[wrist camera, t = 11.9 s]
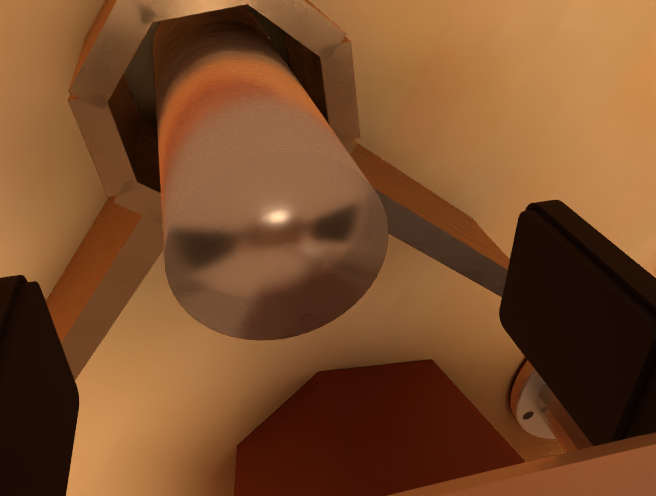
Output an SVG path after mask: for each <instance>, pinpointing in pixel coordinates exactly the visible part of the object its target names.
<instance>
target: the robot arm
mask: <svg viewBox="0 0 656 496" xmlns="http://www.w3.org/2000/svg"><path fill="white" fill-rule="evenodd" d="M499 317H500V321H501V324H502V326H503V328H504V329H505V331H506V332H507V333H508V335H509V336H510V337H511V338H512V340H513V341H514V342H515V344H516V345H517V346H518V348H519V349H520V350H521V352H522V353H523V354H524V356H525V357H526V358H527V361H526V363H525V364H524V366H523V367H522V369H521V371H520V372H519V374H518V376H517V378H516V380H515V383H514V385H513V388H512V393H511V397H510V402H511V410H512V412H513V415H514V417H515V418H516V420H517V421H518V423H519V424H520V425H521V427H522V428H523V429H524V430H525V431H526V432H528V433H529V434H530V435H533V436H536V437H539V438H545V439H557V440H558V442H559V443H560V445H561V446H562V447H563V449H564V450H565V452H566V453H564V454H559V455H555V456H551V457H546V458H542V459H538V460H534V461H529V462H525V463H521V464H517V465H512V466H508V467H504V468H500V469H496V470H491V471H487V472H483V473H479V474H475V475H471V476H466V477H462V478H458V479H454V480H450V481H446V482H441V483H437V484H433V485H429V486H425V487H421V488H416V489H412V490H408V491H404V492H400V493H396V494H392V495H387V496H656V278H655V277H654V276H652V275H651V274H650V273H649V272H647V271H646V270H645V269H644V268H643V267H641V266H640V265H639V264H638V263H636V262H635V261H634V260H633V259H631V258H630V257H629V256H628V255H627V254H625V253H624V252H623V251H622V250H620V249H619V248H618V247H617V246H616V245H614V244H613V243H612V242H611V241H609V240H608V239H607V238H606V237H604V236H603V235H602V234H601V233H600V232H598V231H597V230H596V229H595V228H593V227H592V226H591V225H590V224H589V223H587V222H586V221H585V220H584V219H582V218H581V217H580V216H579V215H577V214H576V213H575V212H574V211H573V210H571V209H570V208H569V207H568V206H566V205H565V204H564V203H563V202H561V201H559V200H550V201H543V202H536V203H531V204H529V205H528V206H527V208H526V210H525V211H523V212H521V214H520V215H519V218H518V223H517V228H516V233H515V237H514V242H513V247H512V252H511V257H510V262H509V266H508V271H507V276H506V281H505V286H504V291H503V295H502V300H501V305H500V310H499ZM78 410H79V394H78V389H77V385H76V383H75V380H74V377H73V375H72V372H71V369H70V366H69V364H68V361H67V358H66V356H65V353H64V350H63V347H62V345H61V342H60V339H59V337H58V334H57V331H56V328H55V326H54V323H53V320H52V318H51V315H50V312H49V309H48V307H47V304H46V301H45V299H44V296H43V293H42V290H41V288H40V286H39V284H38V283H37V282H36V281H33V282H27V280H26V278H25V277H24V276H22V275H17V276H10V277H3V278H0V496H66V491H67V484H68V477H69V471H70V464H71V457H72V450H73V444H74V437H75V430H76V424H77V417H78Z"/></svg>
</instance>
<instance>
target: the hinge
mask: <svg viewBox="0 0 656 496" xmlns="http://www.w3.org/2000/svg"><path fill="white" fill-rule="evenodd" d="M245 4H248V5H249V6H251V7H252V8H254V9H255V10H256V11H258V12H259V13H260V14H262V15H263V16H265V17H266V18H267V19H269V20H270V21H271V22H273V23H274V24H276V25H277V26H278V27H280V28H281V29H282V30H284V31H285V37H286V43H287V49H288V55H289V61H290V68H291V71H292V72H293V74H294V75H295V77H296V78H297V79H298V81H299V82H300V84H301V85H302V87H303V88H304V90H305V91H306V92H307V94H308V95H309V97H310V98H311V100H312V101H313V103H314V104H315V105H316V107H317V108H318V110H319V111H320V113H321V114H322V115H323V117H324V118H325V120H326V121H327V123H328V124H329V126H330V127H331V128H332V130H333V131H334V133H335V134H336V136H337V137H338V138H339V140H340V141H341V143H342V144H343V146H344V147H345V149H346V150H347V151H348V153H349V154H350V156H351V157H352V159H353V160H354V161H355V163H356V164H357V166H358V167H359V169H360V170H361V172H362V173H363V174H364V176H365V177H366V179H367V180H368V182H369V183H370V184H371V186H372V187H373V189H374V190H375V192H376V193H377V195H378V196H379V198H380V200H381V202H382V205H383V207H384V210H385V214H386V217H387V224H388V233H389V234H391V235H393V236H394V237H396V238H398V239H400V240H401V241H403V242H405V243H407V244H409V245H410V246H412V247H414V248H416V249H417V250H419V251H421V252H423V253H424V254H426V255H428V256H430V257H432V258H433V259H435V260H437V261H439V262H440V263H442V264H444V265H446V266H448V267H449V268H451V269H453V270H455V271H456V272H458V273H460V274H462V275H463V276H465V277H467V278H469V279H471V280H472V281H474V282H476V283H478V284H479V285H481V286H483V287H485V288H487V289H488V290H490V291H492V292H494V293H495V294H497V295H499V296H501V297H502V295H503V291H504V286H505V281H506V276H507V271H508V266H509V262H510V259H509V258H508V257H507V256H506V255H505V254H504V253H503V252H502V251H501V250H500V248H499V247H498V246H497V245H496V244H495V243H494V242H493V241H492V240H491V239H490V238H489V236H488V235H487V234H486V233H485V232H484V231H483V230H482V229H481V228H480V227H479V225H478V224H477V223H476V222H475V221H474V220H473V219H472V218H471V217H469V216H468V215H466V214H465V213H463V212H462V211H460V210H459V209H457V208H455V207H454V206H452V205H451V204H449V203H448V202H446V201H445V200H443V199H442V198H440V197H439V196H437V195H436V194H434V193H433V192H431V191H429V190H428V189H426V188H425V187H423V186H422V185H420V184H419V183H417V182H416V181H414V180H413V179H411V178H410V177H408V176H407V175H405V174H404V173H402V172H400V171H399V170H397V169H396V168H394V167H393V166H391V165H390V164H388V163H387V162H385V161H384V160H382V159H381V158H379V157H378V156H376V155H374V154H373V153H371V152H370V151H368V150H367V149H365V148H364V147H362V146H361V145H359V144H358V143H356V141H355V140H354V139H356V138H360V132H359V122H358V111H357V101H356V91H355V80H354V70H353V60H352V49H351V41H350V40H349V39H347V38H346V37H345V36H346V33H345V32H344V31H343V30H342V29H340V28H339V27H338V26H337V25H336V24H335V23H334V22H332V21H331V20H330V19H329V18H328V17H327V16H325V15H324V14H323V13H322V12H321V11H320V10H319V9H317V8H316V7H315V6H314V5H313V4H312V3H310V2H309V1H308V0H105V1H104V3H103V5H102V7H101V9H100V11H99V13H98V15H97V17H96V18H95V20H94V22H93V24H92V26H91V28H90V30H89V32H88V34H87V35H86V37H85V40H84V44H83V47H82V50H81V53H80V56H79V59H78V63H77V66H76V69H75V72H74V75H73V78H72V82H71V85H70V88H69V91H68V92H69V93H70V96H69V99H68V102H69V104H70V107H71V109H72V112H73V114H74V116H75V119H76V121H77V124H78V126H79V128H80V131H81V133H82V136H83V138H84V140H85V143H86V145H87V148H88V150H89V153H90V155H91V157H92V160H93V162H94V165H95V167H96V169H97V172H98V174H99V177H100V179H101V181H102V184H103V186H104V189H105V191H106V193H107V196H108V197H109V199H108V200H107V202H106V204H105V205H104V207H103V209H102V210H101V212H100V214H99V215H98V217H97V219H96V220H95V222H94V224H93V225H92V227H91V228H90V230H89V232H88V233H87V235H86V237H85V238H84V240H83V242H82V243H81V245H80V247H79V248H78V250H77V252H76V253H75V255H74V256H73V258H72V260H71V261H70V263H69V265H68V266H67V268H66V270H65V271H64V273H63V275H62V276H61V278H60V280H59V281H58V283H57V284H56V286H55V288H54V289H53V291H52V293H51V294H50V296H49V298H48V299H47V301H46V304H47V307H48V309H49V312H50V315H51V318H52V320H53V323H54V326H55V328H56V331H57V334H58V337H59V339H60V342H61V345H62V347H63V350H64V353H65V356H66V358H67V361H68V364H69V366H70V369H71V372H72V375H73V377H74V380H76V378H77V377H78V375H79V374H80V372H81V371H82V369H83V368H84V366H85V365H86V363H87V362H88V360H89V359H90V357H91V356H92V354H93V353H94V351H95V350H96V348H97V347H98V345H99V344H100V342H101V341H102V340H103V338H104V337H105V335H106V334H107V332H108V331H109V329H110V328H111V326H112V325H113V323H114V322H115V320H116V319H117V317H118V316H119V314H120V313H121V311H122V310H123V308H124V307H125V305H126V304H127V302H128V301H129V299H130V298H131V296H132V295H133V293H134V292H135V290H136V289H137V287H138V286H139V284H140V283H141V281H142V280H143V279H144V277H145V276H146V274H147V273H148V271H149V270H150V268H151V267H152V265H153V264H154V262H155V261H156V259H157V258H158V256H159V255H160V253H161V252H162V250H163V249H164V240H163V222H162V204H161V186H160V168H159V150H158V132H157V124H156V123H155V122H153V121H151V120H149V119H147V118H145V117H144V116H142V115H140V114H138V112H137V109H136V106H135V103H134V100H133V97H132V94H131V91H130V89H129V86H128V83H127V80H126V77H125V74H124V72H125V70H126V68H127V67H128V65H129V63H130V61H131V59H132V58H133V56H134V54H135V52H136V51H137V49H138V47H139V45H140V44H141V42H142V40H143V38H144V36H145V35H146V33H147V31H148V29H149V28H150V26H151V24H152V22H157V21H162V20H168V19H173V18H178V17H183V16H188V15H193V14H198V13H204V12H209V11H214V10H219V9H224V8H229V7H234V6H239V5H245Z"/></svg>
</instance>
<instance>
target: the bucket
mask: <svg viewBox="0 0 656 496" xmlns="http://www.w3.org/2000/svg"><path fill="white" fill-rule="evenodd" d="M521 463H525V461H524V460H523V459H522V458H521V457H520V456H519V455H518V454H517V452H516V451H515V450H514V449H513V448H512V447H511V446H510V445H509V444H508V443H507V441H506V440H505V439H504V438H503V437H502V436H501V435H500V434H499V433H498V432H497V431H496V429H495V428H494V427H493V426H492V425H491V424H490V423H489V422H488V421H487V420H486V418H485V417H484V416H483V415H482V414H481V413H480V412H479V411H478V410H477V409H476V407H475V406H474V405H473V404H472V403H471V402H470V401H469V400H468V399H467V398H466V397H465V395H464V394H463V393H462V392H461V391H460V390H459V389H458V388H457V387H456V386H455V384H454V383H453V382H452V381H451V380H450V379H449V378H448V377H447V376H446V375H445V374H444V372H443V371H442V370H441V369H440V368H439V367H438V366H437V365H436V364H435V363H434V361H433V360H424V361H414V362H405V363H396V364H387V365H378V366H368V367H359V368H350V369H341V370H332V371H322V372H318V373H317V374H316V375H315V376H314V377H313V378H312V379H310V380H309V381H308V382H307V383H306V384H305V385H304V386H303V387H302V388H301V389H299V390H298V391H297V392H296V393H295V394H294V395H293V396H292V397H291V398H289V399H288V400H287V401H286V402H285V403H284V404H283V405H282V406H281V407H280V408H278V409H277V410H276V411H275V412H274V413H273V414H272V415H271V416H270V417H269V418H267V419H266V420H265V421H264V422H263V423H262V424H261V425H260V426H259V427H258V428H256V429H255V430H254V431H253V432H252V433H251V434H250V435H249V436H248V437H246V438H245V439H244V440H243V441H242V442H241V443H240V444H239V445H238V446H237V457H236V471H235V486H234V496H387V495H392V494H396V493H400V492H404V491H408V490H412V489H416V488H421V487H425V486H429V485H433V484H437V483H441V482H446V481H450V480H454V479H458V478H462V477H466V476H471V475H475V474H479V473H483V472H487V471H491V470H496V469H500V468H504V467H508V466H512V465H517V464H521Z"/></svg>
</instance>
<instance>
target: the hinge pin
mask: <svg viewBox="0 0 656 496" xmlns="http://www.w3.org/2000/svg"><path fill="white" fill-rule="evenodd" d="M153 59H154V77H155V95H156V113H157V132H158V150H159V168H160V186H161V204H162V222H163V240H164V258H165V270H166V275H167V278H168V282H169V285H170V287H171V289H172V292H173V294H174V296H175V297H176V299H177V300H178V302H179V303H180V305H181V306H182V307H183V308H184V309H185V310H186V311H187V312H188V313H189V314H190V315H191V316H192V317H193V318H195V319H196V320H197V321H198V322H200V323H201V324H203V325H205V326H206V327H208V328H210V329H212V330H214V331H217V332H219V333H222V334H225V335H228V336H231V337H236V338H241V339H248V340H276V339H284V338H289V337H293V336H298V335H301V334H304V333H307V332H310V331H312V330H315V329H317V328H320V327H322V326H324V325H326V324H327V323H329V322H331V321H333V320H335V319H336V318H337V317H339V316H340V315H342V314H343V313H345V312H346V311H347V310H348V309H350V308H351V307H352V306H353V305H354V304H355V303H356V302H357V301H358V300H359V299H360V298H361V297H362V296H363V295H364V294H365V293H366V291H367V290H368V289H369V288H370V286H371V285H372V283H373V281H374V280H375V278H376V277H377V275H378V273H379V271H380V268H381V266H382V264H383V261H384V258H385V255H386V250H387V244H388V224H387V217H386V214H385V210H384V207H383V205H382V202H381V200H380V198H379V196H378V195H377V193H376V192H375V190H374V189H373V187H372V186H371V184H370V183H369V182H368V180H367V179H366V177H365V176H364V174H363V173H362V172H361V170H360V169H359V167H358V166H357V164H356V163H355V161H354V160H353V159H352V157H351V156H350V154H349V153H348V151H347V150H346V149H345V147H344V146H343V144H342V143H341V141H340V140H339V138H338V137H337V136H336V134H335V133H334V131H333V130H332V128H331V127H330V126H329V124H328V123H327V121H326V120H325V118H324V117H323V115H322V114H321V113H320V111H319V110H318V108H317V107H316V105H315V104H314V103H313V101H312V100H311V98H310V97H309V95H308V94H307V92H306V91H305V90H304V88H303V87H302V85H301V84H300V82H299V81H298V79H297V78H296V77H295V75H294V74H293V72H292V71H291V69H290V68H289V67H288V65H287V64H286V62H285V61H284V59H283V58H282V56H281V55H280V54H279V52H278V51H277V49H276V48H275V46H274V45H273V44H272V42H271V41H270V39H269V38H268V36H267V35H266V33H265V32H264V31H263V29H262V28H261V26H260V25H259V23H258V22H257V21H256V19H255V18H254V17H253V15H252V14H251V13H250V12H249V11H248V10H247V9H245V8H244V7H243V6H242V5H239V6H234V7H229V8H224V9H219V10H214V11H209V12H204V13H198V14H193V15H188V16H183V17H178V18H173V19H168V20H162V21H161V22H160V24H159V26H158V27H157V30H156V33H155V37H154V42H153Z"/></svg>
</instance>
